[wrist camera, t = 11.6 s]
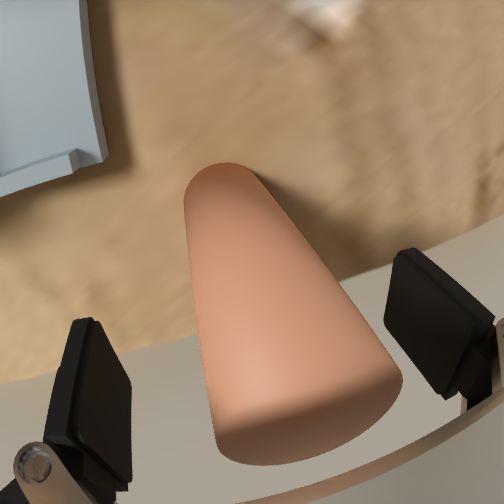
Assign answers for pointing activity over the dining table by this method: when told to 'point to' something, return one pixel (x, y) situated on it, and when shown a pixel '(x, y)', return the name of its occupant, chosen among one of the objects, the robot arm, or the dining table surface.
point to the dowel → (276, 329)
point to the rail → (47, 93)
